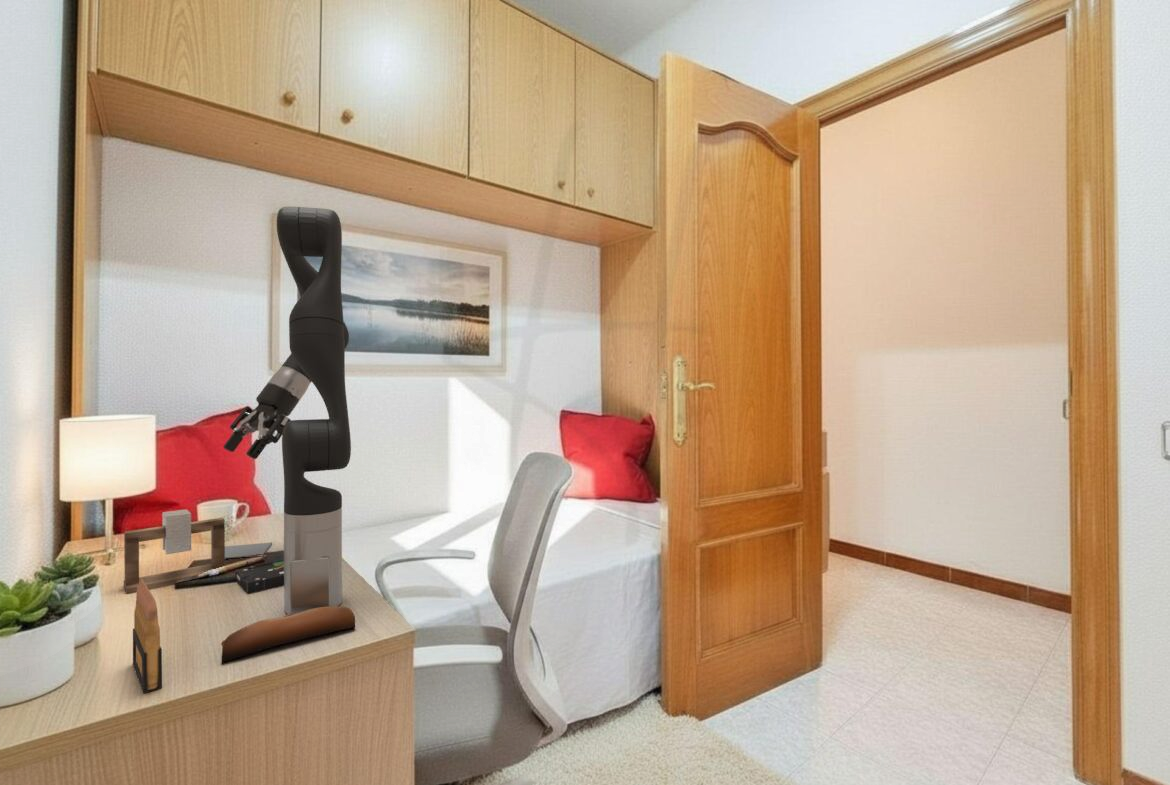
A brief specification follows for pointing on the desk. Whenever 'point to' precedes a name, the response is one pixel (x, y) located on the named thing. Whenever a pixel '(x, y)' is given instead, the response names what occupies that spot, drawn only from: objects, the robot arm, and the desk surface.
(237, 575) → the disk drive
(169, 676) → the desk surface
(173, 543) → the pale grey upright block
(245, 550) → the slate mat
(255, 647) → the sunglasses case
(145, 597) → the ammunition clip
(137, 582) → the stand
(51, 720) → the desk surface
